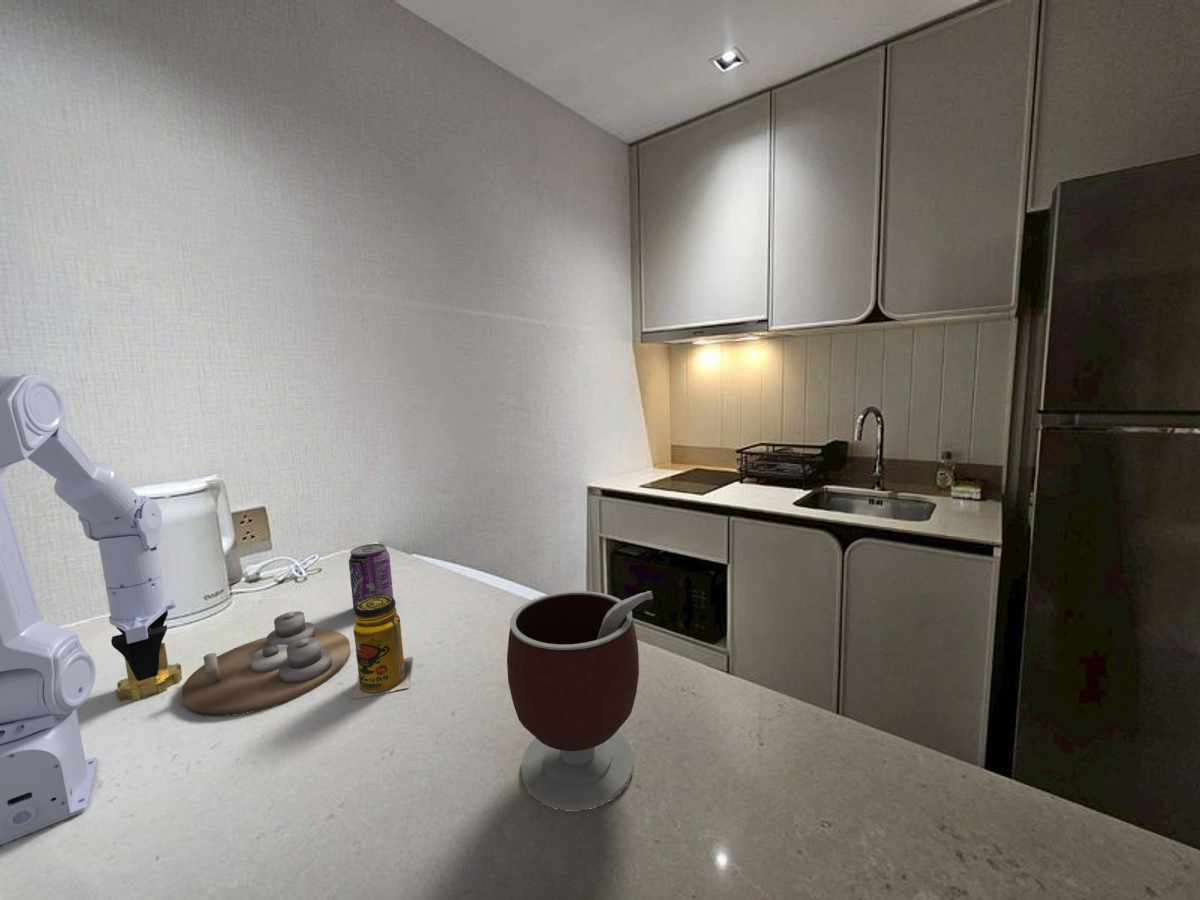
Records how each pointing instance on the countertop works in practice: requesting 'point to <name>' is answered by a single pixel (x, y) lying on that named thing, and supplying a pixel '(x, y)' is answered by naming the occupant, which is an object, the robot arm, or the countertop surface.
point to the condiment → (379, 648)
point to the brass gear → (149, 680)
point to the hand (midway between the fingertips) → (148, 670)
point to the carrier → (267, 669)
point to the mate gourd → (575, 694)
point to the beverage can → (370, 572)
